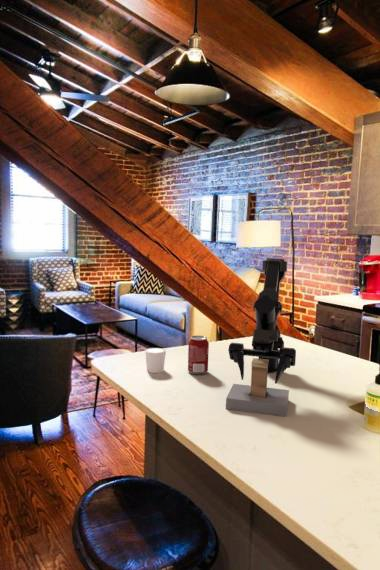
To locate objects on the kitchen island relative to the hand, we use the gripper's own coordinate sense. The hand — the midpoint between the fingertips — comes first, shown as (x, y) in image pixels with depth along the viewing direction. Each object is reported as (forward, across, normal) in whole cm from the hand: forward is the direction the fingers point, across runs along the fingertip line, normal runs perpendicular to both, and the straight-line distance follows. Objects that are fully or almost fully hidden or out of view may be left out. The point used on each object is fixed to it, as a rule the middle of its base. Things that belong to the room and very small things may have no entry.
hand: (258, 381), depth 125 cm
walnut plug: (+4, 0, +6) cm, 7 cm away
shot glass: (-9, -37, +19) cm, 43 cm away
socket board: (+4, 0, +6) cm, 7 cm away
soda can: (-11, -23, +21) cm, 33 cm away
